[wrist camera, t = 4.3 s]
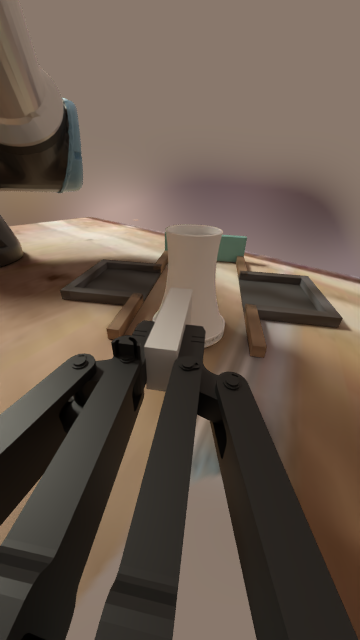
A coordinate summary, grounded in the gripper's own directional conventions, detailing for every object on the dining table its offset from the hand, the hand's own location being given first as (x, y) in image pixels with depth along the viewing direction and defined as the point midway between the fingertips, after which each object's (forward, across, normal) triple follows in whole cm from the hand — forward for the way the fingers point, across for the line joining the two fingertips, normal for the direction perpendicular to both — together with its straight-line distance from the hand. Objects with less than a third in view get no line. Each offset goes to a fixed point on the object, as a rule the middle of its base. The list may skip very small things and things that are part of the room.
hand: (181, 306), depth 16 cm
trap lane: (+16, 0, -6) cm, 17 cm away
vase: (+6, 0, -6) cm, 9 cm away
